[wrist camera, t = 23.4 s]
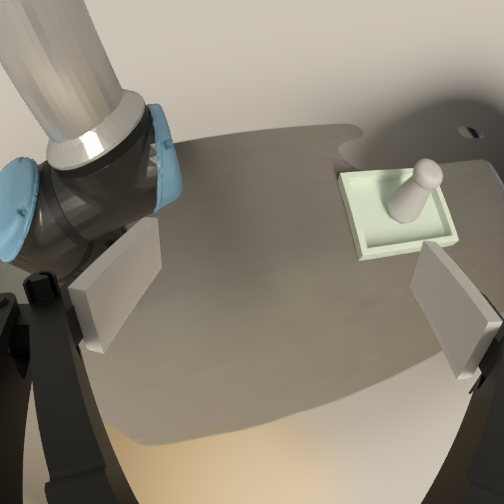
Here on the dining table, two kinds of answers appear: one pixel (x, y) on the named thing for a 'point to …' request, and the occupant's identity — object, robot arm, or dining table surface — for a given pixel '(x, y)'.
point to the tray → (378, 218)
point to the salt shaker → (414, 192)
